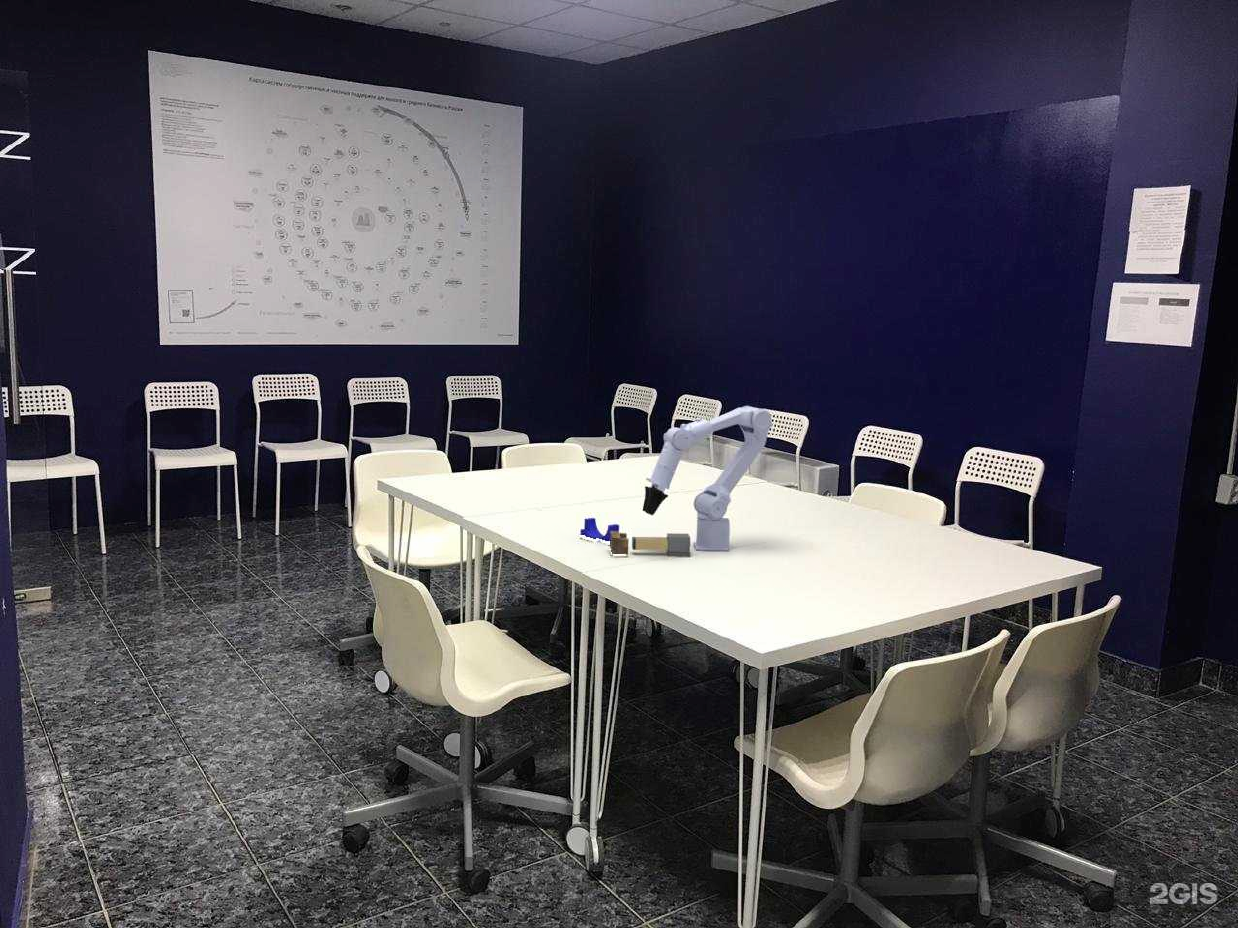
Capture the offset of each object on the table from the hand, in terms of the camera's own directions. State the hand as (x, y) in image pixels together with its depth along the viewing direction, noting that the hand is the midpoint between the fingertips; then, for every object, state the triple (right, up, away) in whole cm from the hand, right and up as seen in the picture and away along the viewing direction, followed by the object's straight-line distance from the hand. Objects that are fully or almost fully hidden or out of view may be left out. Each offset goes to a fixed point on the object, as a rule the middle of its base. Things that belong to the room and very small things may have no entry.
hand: (647, 513), depth 281 cm
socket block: (-8, -11, 0) cm, 14 cm away
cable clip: (-14, -9, +14) cm, 22 cm away
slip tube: (+3, -10, 0) cm, 10 cm away
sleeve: (+9, -12, +1) cm, 15 cm away
